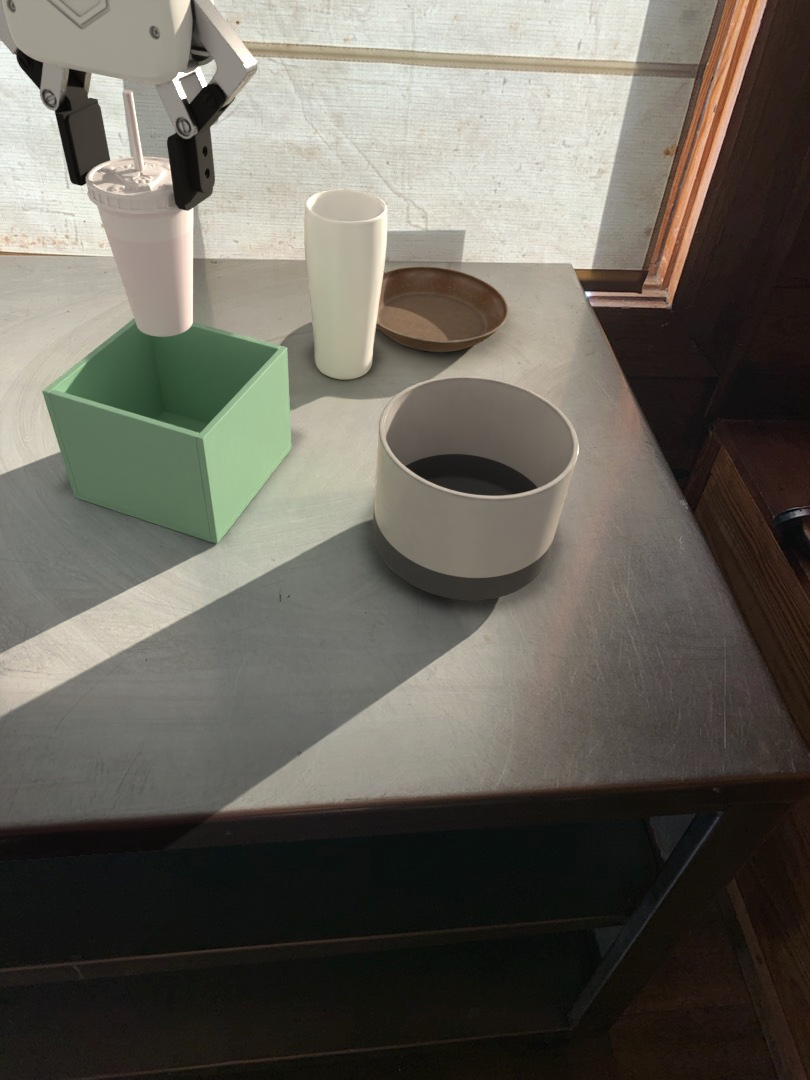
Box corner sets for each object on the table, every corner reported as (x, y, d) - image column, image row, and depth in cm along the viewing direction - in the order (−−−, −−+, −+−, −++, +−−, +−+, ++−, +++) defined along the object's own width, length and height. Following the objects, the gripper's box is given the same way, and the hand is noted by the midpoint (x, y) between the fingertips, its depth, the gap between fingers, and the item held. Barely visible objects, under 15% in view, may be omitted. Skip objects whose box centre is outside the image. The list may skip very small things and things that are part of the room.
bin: (74, 497, 59) (41, 390, 52) (163, 411, 67) (145, 309, 60) (217, 544, 56) (202, 439, 50) (291, 448, 64) (287, 347, 58)
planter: (341, 572, 55) (343, 456, 48) (414, 468, 64) (426, 356, 56) (514, 639, 52) (545, 526, 45) (566, 521, 61) (600, 409, 53)
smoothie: (205, 294, 56) (179, 76, 47) (220, 341, 52) (195, 112, 42) (111, 303, 55) (64, 78, 45) (119, 352, 51) (68, 116, 41)
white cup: (388, 383, 72) (398, 220, 61) (315, 391, 70) (313, 225, 60) (369, 343, 77) (376, 186, 66) (300, 350, 75) (296, 189, 64)
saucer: (530, 322, 82) (535, 298, 80) (453, 383, 73) (456, 358, 71) (414, 275, 87) (416, 252, 85) (329, 327, 78) (329, 302, 76)
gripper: (-154, -249, 34) (-22, 182, 46) (207, -207, 30) (242, 245, 43) (-28, -244, 39) (60, 143, 51) (292, -208, 35) (301, 197, 48)
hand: (142, 186), depth 47 cm, fingers closed on smoothie, 6 cm apart
